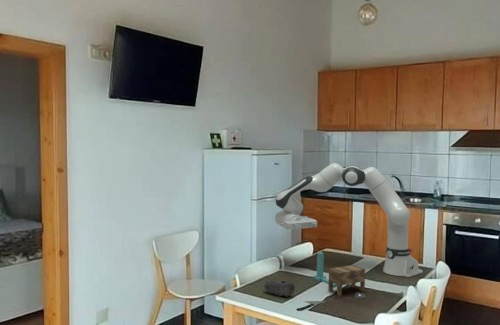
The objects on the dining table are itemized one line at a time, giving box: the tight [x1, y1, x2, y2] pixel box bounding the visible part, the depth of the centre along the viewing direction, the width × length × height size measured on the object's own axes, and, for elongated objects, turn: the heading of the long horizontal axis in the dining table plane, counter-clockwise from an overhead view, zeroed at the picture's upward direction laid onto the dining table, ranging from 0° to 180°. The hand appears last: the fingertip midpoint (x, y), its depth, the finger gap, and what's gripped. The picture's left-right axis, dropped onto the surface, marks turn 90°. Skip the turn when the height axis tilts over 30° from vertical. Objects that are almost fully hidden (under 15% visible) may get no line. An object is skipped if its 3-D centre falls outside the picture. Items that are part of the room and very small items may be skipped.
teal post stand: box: [313, 251, 344, 289], centre depth 237 cm, size 16×7×14 cm, turn 29°
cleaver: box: [295, 300, 326, 312], centre depth 210 cm, size 29×1×10 cm
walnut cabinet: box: [327, 264, 366, 297], centre depth 224 cm, size 16×9×11 cm, turn 119°
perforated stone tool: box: [264, 279, 295, 298], centre depth 217 cm, size 15×5×7 cm, turn 57°
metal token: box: [354, 291, 366, 300], centre depth 216 cm, size 4×4×2 cm
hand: (308, 226), depth 251 cm, fingers open, 8 cm apart
